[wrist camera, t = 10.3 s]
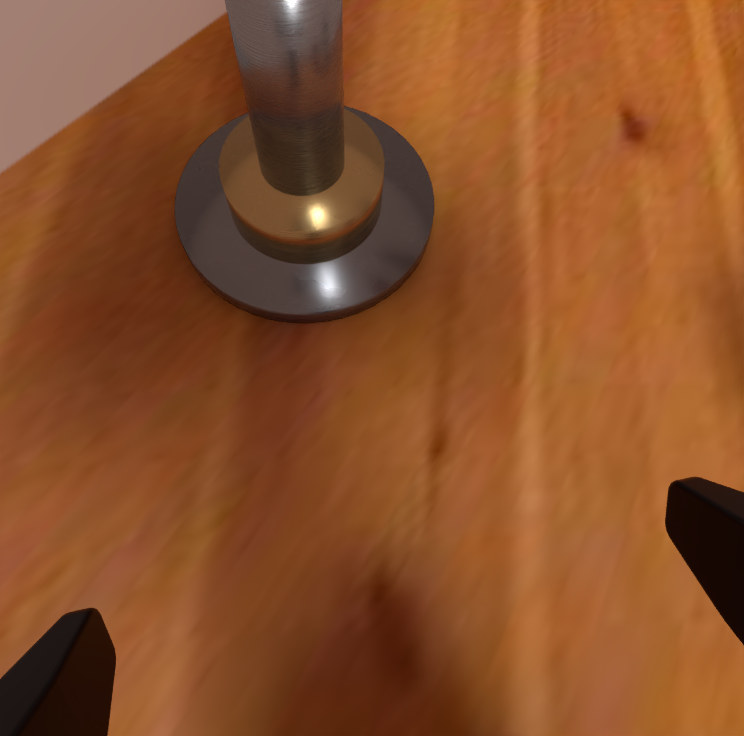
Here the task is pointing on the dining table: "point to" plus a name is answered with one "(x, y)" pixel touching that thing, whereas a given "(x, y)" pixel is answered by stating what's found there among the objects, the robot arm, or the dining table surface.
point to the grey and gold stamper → (298, 136)
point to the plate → (306, 281)
